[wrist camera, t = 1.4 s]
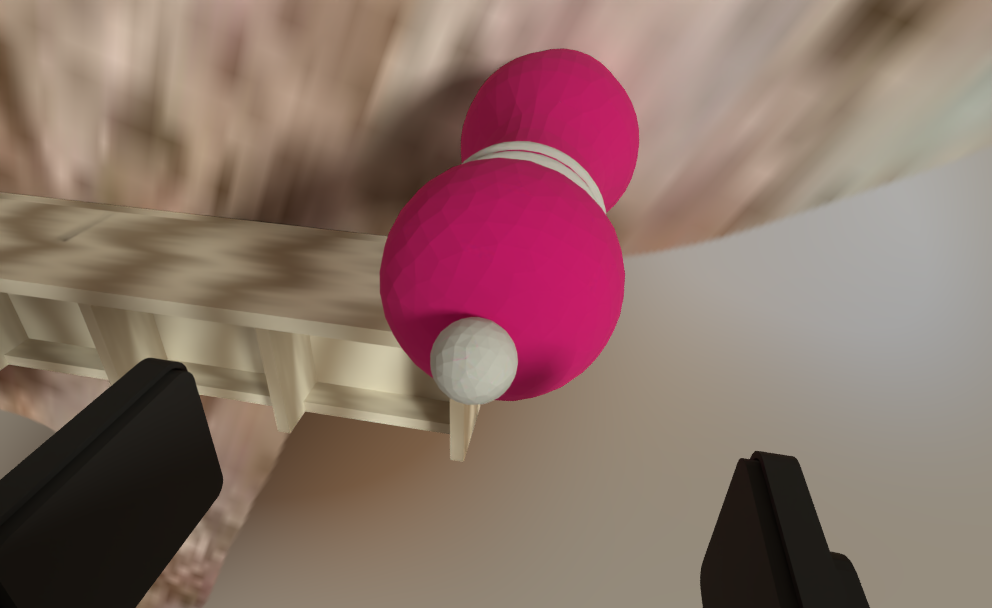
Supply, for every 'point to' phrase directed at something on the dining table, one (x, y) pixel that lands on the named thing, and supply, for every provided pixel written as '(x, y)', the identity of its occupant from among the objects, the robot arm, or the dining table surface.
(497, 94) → the pepper mill
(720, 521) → the robot arm
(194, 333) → the rack
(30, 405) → the dining table surface
